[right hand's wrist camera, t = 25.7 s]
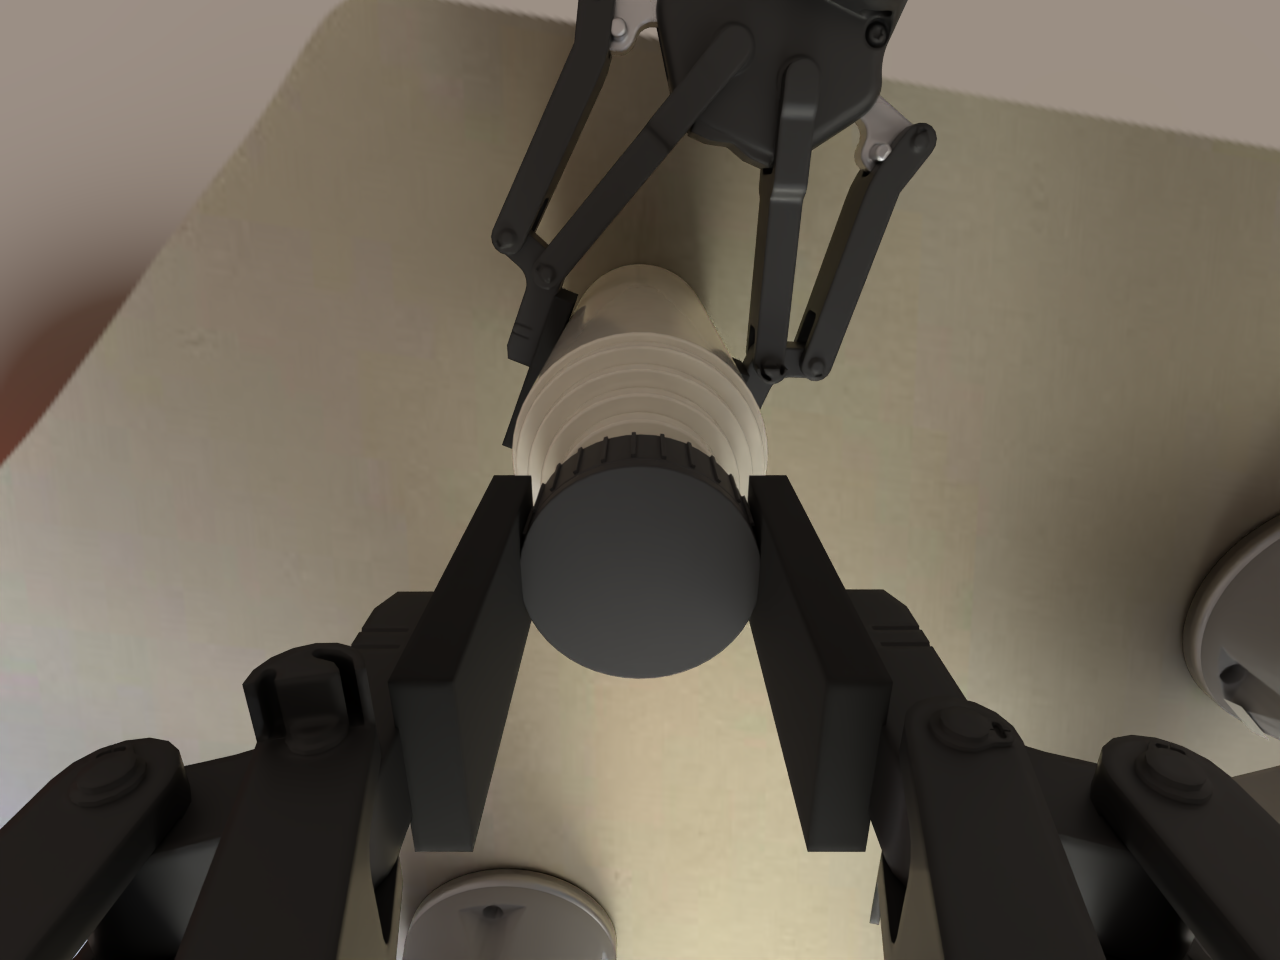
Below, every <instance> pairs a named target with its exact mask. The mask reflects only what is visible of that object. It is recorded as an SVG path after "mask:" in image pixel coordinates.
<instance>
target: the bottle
mask: <svg viewBox="0 0 1280 960" xmlns="http://www.w3.org/2000/svg"><path fill="white" fill-rule="evenodd" d="M632 432H636V435H637V434H644V435H657V436H660V434H664V435H665V437H667V438H672V439H675V440H678V441H681V442H684V443H687V442H690V443H691V444H692V447H695V448H697V449H699V450H700V451H702V452H703V453H705V454H706V455H708V456H709V457H710V456H711V455H713V456H714V457H715V460H716V462H717V463H718V464H719V465H720V466H721V467H722V468H723V469H724V470H725V471H726V473H727V474H728V475H729V474H732V475H733V477H734V480H735V483H736V486H737V488H738V490H739V492H740V494H741V496H744V495H745V498H746V500H747V501H748V485H749V475H766V471H767V462H768V441H767V434H766V429H765V424H764V420H763V417H762V415H761V412H760V409H759V406H758V404H757V402H756V401H755V399H754V397H753V395H752V393H751V391H750V389H749V387H748V386H747V384H746V382H745V380H744V378H743V377H742V375H741V373H740V371H739V370H738V368H737V366H736V364H735V362H734V361H733V359H732V357H731V355H730V353H729V352H728V350H727V348H726V346H725V345H724V343H723V341H722V339H721V337H720V336H719V334H718V332H717V330H716V328H715V327H714V325H713V323H712V321H711V319H710V318H709V316H708V314H707V312H706V311H705V309H704V307H703V305H702V303H701V302H700V300H699V298H698V296H697V295H696V293H695V292H694V291H693V289H692V288H691V287H690V286H689V285H688V284H687V283H686V282H685V281H684V280H683V279H682V278H680V277H679V276H677V275H676V274H674V273H673V272H671V271H669V270H666V269H664V268H661V267H658V266H654V265H647V264H633V265H626V266H622V267H619V268H616V269H614V270H611V271H609V272H608V273H606V274H604V275H602V276H601V277H600V278H599V279H597V280H596V281H595V282H594V283H593V284H592V285H591V286H590V287H589V288H588V289H587V291H586V292H585V293H584V295H583V296H582V298H581V300H580V302H579V304H578V305H577V307H576V309H575V311H574V313H573V314H572V316H571V318H570V320H569V322H568V323H567V325H566V327H565V329H564V331H563V332H562V334H561V336H560V338H559V340H558V341H557V343H556V345H555V347H554V349H553V350H552V352H551V354H550V356H549V358H548V359H547V361H546V363H545V365H544V367H543V368H542V370H541V372H540V374H539V376H538V377H537V379H536V381H535V383H534V385H533V386H532V388H531V390H530V392H529V394H528V395H527V397H526V399H525V401H524V403H523V405H522V407H521V410H520V413H519V415H518V418H517V421H516V426H515V430H514V435H513V446H512V458H513V469H514V474H515V475H531V477H532V494H533V506H534V504H535V501H536V499H537V496H538V493H539V490H540V487H541V485H542V483H544V484H546V483H547V481H548V480H549V478H550V477H551V475H552V474H553V473H554V472H555V470H556V466H557V465H558V464H559V463H561V464H563V463H564V462H565V461H566V460H568V459H569V458H570V457H571V456H573V455H574V454H576V453H577V452H578V448H580V447H582V448H583V449H584V448H586V447H588V446H590V445H592V444H594V443H597V442H600V441H603V439H604V437H607V436H608V439H609V438H613V437H618V436H624V435H632Z"/></svg>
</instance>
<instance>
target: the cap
mask: <svg viewBox="0 0 1280 960" xmlns="http://www.w3.org/2000/svg"><path fill="white" fill-rule="evenodd" d="M753 526H755V524H754V521H753V518H752V515H751V512H750V509H749V506H748V503H747V500H746V498H745V495H744V496H741V494H740V492H739V490H738V488H737V486H736V483H735V480H734V477H733V475H732V474H729V475H728V474H727V473H726V471H725V470H724V469H723V468H722V467H721V466H720V465H719V464H718V463H717V462H716V460H715V457H714V456H713V455H711V456H710V457H709V456H708V455H706V454H705V453H703V452H702V451H700V450H699V449H697V448H695V447H692V444H691V443H690V442H687V443H684V442H681V441H678V440H675V439H672V438H667V437H665V435H664V434H660V436H657V435H644V434H637V435H636V432H632V435H624V436H618V437H613V438H609V439H608V436H607V437H604V439H603V441H600V442H597V443H594V444H592V445H590V446H588V447H586V448H584V449H583V448H582V447H580V448H578V452H577V453H576V454H574V455H573V456H571V457H570V458H569V459H568V460H566V461H565V462H564V463H563V464H561V463H559V464H558V465H557V466H556V470H555V472H554V473H553V474H552V475H551V477H550V478H549V480H548V481H547V483H546V484H544V483H542V485H541V487H540V490H539V493H538V496H537V499H536V501H535V504H534V506H532V507H531V510H530V513H529V516H528V519H527V522H526V525H525V528H524V530H523V533H522V535H523V537H524V541H523V544H522V548H521V552H520V566H521V580H522V594H523V602H524V605H525V607H526V609H527V612H528V614H529V616H530V618H531V620H532V621H533V623H534V624H535V626H536V627H537V629H538V630H539V632H540V633H541V634H542V635H543V636H544V638H545V639H546V640H547V641H548V642H549V643H550V644H551V645H552V646H553V647H555V648H556V649H557V650H558V651H559V652H561V653H562V654H563V655H565V656H566V657H568V658H569V659H571V660H573V661H574V662H576V663H578V664H580V665H582V666H584V667H586V668H589V669H591V670H594V671H596V672H600V673H603V674H607V675H611V676H617V677H622V678H635V679H645V678H658V677H664V676H670V675H674V674H677V673H681V672H684V671H687V670H689V669H692V668H694V667H697V666H699V665H701V664H702V663H704V662H706V661H708V660H710V659H711V658H713V657H714V656H716V655H717V654H719V653H720V652H721V651H723V650H724V649H725V648H726V647H727V646H728V645H729V644H730V643H731V642H733V640H734V639H735V638H736V637H737V636H738V635H739V633H740V632H741V631H742V630H743V628H744V627H745V625H746V624H747V622H748V620H749V619H750V617H751V615H752V613H753V610H754V608H755V606H756V603H757V599H758V587H759V573H760V550H759V546H758V543H757V540H756V536H755V533H754V531H753Z"/></svg>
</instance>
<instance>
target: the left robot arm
mask: <svg viewBox="0 0 1280 960" xmlns="http://www.w3.org/2000/svg"><path fill="white" fill-rule="evenodd" d="M906 3H907V0H578V10H577V21H576V31H575V41H574V45H573V47H572V49H571V51H570V54H569V56H568V58H567V61H566V63H565V65H564V67H563V70H562V72H561V74H560V77H559V79H558V81H557V84H556V86H555V88H554V90H553V93H552V95H551V97H550V100H549V102H548V104H547V106H546V109H545V111H544V113H543V116H542V118H541V120H540V123H539V125H538V127H537V129H536V132H535V134H534V136H533V139H532V141H531V143H530V145H529V148H528V150H527V152H526V155H525V157H524V159H523V161H522V164H521V166H520V168H519V171H518V173H517V175H516V178H515V180H514V182H513V184H512V187H511V189H510V191H509V194H508V196H507V198H506V200H505V203H504V205H503V207H502V210H501V212H500V214H499V217H498V219H497V221H496V223H495V226H494V228H493V231H492V235H491V238H492V243H493V245H494V247H495V249H497V250H498V251H499V252H500V253H503V254H505V255H506V256H508V257H509V258H510V259H511V260H512V261H513V262H514V263H516V264H517V265H518V266H519V267H520V268H521V269H522V271H523V272H524V274H525V277H526V283H527V286H526V290H525V293H524V296H523V299H522V302H521V305H520V308H519V311H518V314H517V317H516V320H515V323H514V326H513V329H512V332H511V335H510V338H509V341H508V344H507V351H508V359H511V360H513V361H516V362H518V363H521V364H523V365H526V366H529V370H528V373H527V376H526V378H525V381H524V384H523V387H522V390H521V393H520V395H519V398H518V401H517V404H516V407H515V410H514V412H513V415H512V418H511V421H510V424H509V427H508V430H507V432H506V435H505V438H504V441H503V444H502V445H503V446H506V447H509V448H512V446H513V435H514V430H515V426H516V421H517V418H518V415H519V413H520V410H521V407H522V405H523V403H524V401H525V399H526V397H527V395H528V394H529V392H530V390H531V388H532V386H533V385H534V383H535V381H536V379H537V377H538V376H539V374H540V372H541V370H542V368H543V367H544V365H545V363H546V361H547V359H548V358H549V356H550V354H551V352H552V350H553V349H554V347H555V345H556V343H557V341H558V340H559V338H560V336H561V334H562V332H563V331H564V329H565V327H566V325H567V323H568V322H569V319H570V316H571V313H572V311H573V308H574V305H575V302H576V300H577V297H578V294H576V293H573V292H571V291H568V290H566V289H564V288H562V285H563V283H564V280H565V277H566V276H567V275H568V274H569V272H570V271H571V270H572V269H573V268H574V266H575V265H576V264H577V263H578V262H579V260H580V259H581V258H582V257H583V256H584V254H585V253H586V252H587V251H588V250H589V248H590V247H591V246H592V245H593V244H594V242H595V241H596V240H597V239H598V238H599V236H600V235H601V234H602V233H603V232H604V230H605V229H606V228H607V227H608V226H609V224H610V223H611V222H612V221H613V220H614V218H615V217H616V216H617V215H618V214H619V212H620V211H621V210H622V209H623V208H624V206H625V205H626V204H627V203H628V202H629V201H630V199H631V198H632V197H633V196H634V195H635V193H636V192H637V191H638V190H639V189H640V187H641V186H642V185H643V184H644V183H645V181H646V180H647V179H648V178H649V177H650V175H651V174H652V173H653V172H654V171H655V169H656V168H657V167H658V166H659V165H660V163H661V162H662V161H663V160H664V159H665V157H666V156H667V155H668V154H669V153H670V151H671V150H672V149H673V148H674V147H675V145H676V144H677V143H678V142H679V141H680V139H681V138H682V137H683V136H684V135H685V134H686V132H687V133H688V136H689V137H691V138H693V139H696V140H698V141H700V142H702V143H705V144H709V145H716V146H724V147H727V148H728V149H730V150H731V151H732V152H733V153H734V154H735V155H737V156H738V157H739V158H740V159H741V160H742V161H744V162H746V163H749V164H751V165H753V166H755V167H757V168H760V169H761V171H760V182H759V195H760V203H759V214H758V225H757V236H756V247H755V258H754V269H753V280H752V291H751V302H750V313H749V324H748V335H747V346H746V357H745V359H744V361H743V363H742V362H741V361H739V360H737V359H735V358H732V359H733V361H734V362H735V364H736V366H737V368H738V370H739V371H740V373H741V375H742V377H743V378H744V380H745V382H746V384H747V386H748V387H749V389H750V391H751V393H752V395H753V397H754V399H755V401H756V402H757V404H758V406H759V409H761V407H762V404H763V402H764V400H765V398H766V396H767V394H768V392H769V390H770V388H771V387H772V385H773V384H775V383H778V382H780V381H782V380H783V379H784V378H787V377H795V378H807V379H809V380H811V381H819V380H822V379H824V378H825V377H826V376H828V374H829V372H830V371H831V368H832V366H833V363H834V361H835V358H836V356H837V353H838V350H839V348H840V345H841V343H842V340H843V337H844V335H845V332H846V330H847V327H848V325H849V322H850V319H851V317H852V314H853V312H854V309H855V307H856V304H857V301H858V299H859V296H860V294H861V291H862V289H863V286H864V283H865V281H866V278H867V276H868V273H869V270H870V268H871V265H872V263H873V260H874V258H875V255H876V252H877V250H878V247H879V245H880V242H881V240H882V237H883V234H884V232H885V229H886V227H887V224H888V221H889V219H890V216H891V214H892V211H893V209H894V206H895V203H896V201H897V198H898V196H899V193H900V192H901V191H902V189H903V188H904V187H905V185H906V184H907V183H908V182H909V180H910V179H911V178H912V177H913V175H914V174H915V173H916V172H917V170H918V169H919V168H920V167H921V165H922V164H923V163H924V162H925V160H926V159H927V158H928V157H929V155H930V154H931V153H932V151H933V149H934V148H935V146H936V140H937V137H936V132H935V130H934V129H933V127H932V126H930V125H928V124H927V123H917V124H912V123H911V122H909V121H908V120H907V119H906V118H905V117H904V116H903V115H902V114H900V113H899V112H898V111H897V110H896V109H895V108H894V107H893V106H892V105H890V104H889V103H888V102H887V101H886V100H885V99H884V98H883V97H881V96H880V91H881V86H882V62H883V56H884V52H885V49H886V46H887V44H888V42H889V39H890V37H891V35H892V33H893V31H894V29H895V26H896V24H897V22H898V20H899V18H900V16H901V13H902V11H903V9H904V7H905V5H906ZM649 27H656V28H657V32H658V37H659V42H660V47H661V52H662V57H663V62H664V66H665V71H666V76H667V81H668V86H669V91H670V96H669V97H668V98H667V99H666V100H665V102H664V103H663V104H662V105H661V107H660V108H659V109H658V110H657V112H656V113H655V114H654V115H653V117H652V118H651V119H650V120H649V122H648V123H647V125H646V126H645V127H644V129H643V130H642V131H641V132H640V134H639V135H638V136H637V137H636V139H635V140H634V141H633V142H632V143H631V145H630V146H629V147H628V148H627V150H626V151H625V152H624V153H623V155H622V156H621V157H620V158H619V159H618V161H617V162H616V163H615V164H614V166H613V167H612V168H611V169H610V171H609V172H608V173H607V174H606V175H605V177H604V178H603V179H602V180H601V182H600V183H599V184H598V185H597V187H596V188H595V189H594V190H593V191H592V193H591V194H590V195H589V196H588V198H587V199H586V200H585V201H584V202H583V204H582V205H581V206H580V207H579V209H578V210H577V211H576V212H575V214H574V215H573V216H572V217H571V218H570V220H569V221H568V222H567V223H566V225H565V226H564V227H563V228H562V230H561V231H560V232H559V233H558V234H557V236H556V237H555V238H554V239H553V241H552V242H551V243H550V244H549V245H548V244H547V243H546V242H545V241H544V240H543V239H542V238H540V237H539V236H538V235H537V234H536V233H535V232H536V230H537V228H538V226H539V223H540V221H541V219H542V217H543V215H544V213H545V210H546V208H547V206H548V204H549V202H550V199H551V197H552V195H553V193H554V191H555V189H556V186H557V184H558V182H559V180H560V178H561V175H562V173H563V171H564V169H565V167H566V165H567V162H568V160H569V158H570V156H571V154H572V151H573V149H574V147H575V145H576V143H577V141H578V138H579V136H580V134H581V132H582V130H583V127H584V125H585V123H586V121H587V119H588V116H589V114H590V112H591V110H592V108H593V106H594V103H595V101H596V99H597V97H598V95H599V92H600V90H601V88H602V86H603V83H604V81H605V78H606V76H607V73H608V70H609V66H610V62H611V58H612V55H615V56H622V55H625V54H627V53H628V52H630V51H631V49H632V48H633V46H634V44H635V41H636V38H637V36H638V35H639V34H640V32H641V31H643V30H644V29H646V28H649ZM854 122H855V123H856V124H857V126H858V128H859V130H860V140H859V143H858V145H857V148H856V150H855V155H854V158H855V162H856V165H857V166H858V167H859V168H860V171H859V172H858V174H857V176H856V177H855V179H854V181H853V183H852V185H851V187H850V189H849V192H848V194H847V197H846V199H845V202H844V205H843V207H842V210H841V213H840V216H839V218H838V221H837V224H836V227H835V230H834V232H833V235H832V238H831V241H830V243H829V246H828V249H827V252H826V254H825V257H824V260H823V263H822V265H821V268H820V271H819V274H818V276H817V279H816V282H815V285H814V287H813V290H812V293H811V296H810V298H809V301H808V304H807V307H806V309H805V312H804V315H803V318H802V321H801V323H800V326H799V329H798V332H797V334H796V337H795V340H794V342H789V341H787V337H788V328H789V319H790V310H791V301H792V292H793V283H794V274H795V265H796V256H797V247H798V238H799V229H800V220H801V212H802V203H803V198H804V196H805V194H806V190H807V184H808V176H809V167H810V158H811V150H813V149H815V148H816V147H818V146H819V145H821V144H822V143H824V142H825V141H827V140H828V139H830V138H831V137H833V136H834V135H836V134H837V133H839V132H841V131H842V130H844V129H845V128H847V127H848V126H850V125H851V124H853V123H854ZM1183 651H1184V657H1185V661H1186V665H1187V667H1188V670H1189V672H1190V674H1191V676H1192V678H1193V679H1194V681H1195V682H1196V683H1197V685H1198V686H1199V687H1200V688H1201V689H1202V690H1203V691H1204V692H1205V693H1206V694H1207V695H1208V696H1209V697H1210V698H1211V699H1212V700H1214V701H1215V702H1216V703H1217V704H1218V705H1219V706H1220V707H1222V708H1223V709H1224V710H1225V711H1227V712H1228V713H1229V714H1231V715H1232V716H1234V717H1236V718H1237V719H1239V720H1241V721H1242V722H1243V723H1244V724H1245V725H1246V726H1247V727H1248V729H1249V730H1250V731H1251V732H1253V733H1255V734H1257V735H1259V736H1261V737H1263V738H1265V739H1267V740H1269V739H1268V738H1267V737H1266V736H1265V734H1268V735H1270V736H1272V737H1274V738H1276V739H1279V740H1280V515H1278V516H1277V517H1275V518H1273V519H1271V520H1269V521H1267V522H1266V523H1264V524H1263V525H1261V526H1260V527H1258V528H1256V529H1255V530H1254V531H1252V532H1251V533H1249V534H1248V535H1247V536H1245V537H1244V538H1243V539H1242V540H1240V541H1239V542H1238V543H1237V544H1236V545H1235V546H1233V547H1232V548H1231V549H1230V550H1229V551H1228V552H1227V553H1226V554H1225V555H1224V556H1223V557H1222V558H1221V559H1220V560H1219V561H1218V563H1217V564H1216V565H1215V566H1214V567H1213V568H1212V570H1211V571H1210V572H1209V574H1208V575H1207V576H1206V578H1205V579H1204V581H1203V582H1202V584H1201V585H1200V587H1199V589H1198V590H1197V592H1196V594H1195V596H1194V598H1193V600H1192V603H1191V605H1190V608H1189V610H1188V613H1187V617H1186V621H1185V625H1184V631H1183ZM1264 733H1265V734H1264ZM1269 741H1270V740H1269ZM1231 778H1232V779H1234V780H1235V781H1236V782H1237V783H1238V784H1239V785H1240V786H1241V787H1242V788H1243V789H1244V790H1245V791H1246V792H1247V793H1248V794H1249V795H1250V796H1251V797H1252V798H1253V799H1254V800H1255V801H1256V802H1257V803H1258V804H1259V805H1260V806H1261V807H1262V808H1263V809H1265V810H1266V811H1267V812H1268V813H1269V814H1270V815H1271V816H1272V817H1273V818H1274V819H1275V820H1276V821H1277V822H1278V823H1279V824H1280V766H1276V767H1272V768H1268V769H1263V770H1259V771H1255V772H1251V773H1247V774H1243V775H1239V776H1235V777H1231ZM1194 939H1195V940H1196V941H1197V943H1198V944H1199V945H1200V947H1201V948H1202V949H1203V951H1204V952H1205V953H1206V954H1207V955H1208V956H1209V957H1210V955H1209V954H1208V953H1207V951H1206V950H1205V949H1204V947H1203V946H1202V945H1201V943H1200V942H1199V941H1198V940H1197V938H1196V937H1194ZM1210 958H1211V957H1210ZM1211 959H1212V958H1211ZM1212 960H1213V959H1212Z"/></svg>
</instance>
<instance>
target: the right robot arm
mask: <svg viewBox="0 0 1280 960" xmlns="http://www.w3.org/2000/svg"><path fill="white" fill-rule="evenodd" d="M747 503H748V506H749V509H750V512H751V515H752V518H753V521H754V524H755V526H753V531H754V533H755V536H756V540H757V543H758V546H759V550H760V573H759V587H758V599H757V603H756V606H755V608H754V610H753V613H752V615H751V617H750V619H749V622H750V626H751V630H752V634H753V638H754V642H755V646H756V650H757V654H758V657H759V661H760V665H761V669H762V673H763V677H764V681H765V685H766V689H767V693H768V697H769V701H770V705H771V709H772V713H773V717H774V721H775V724H776V728H777V732H778V736H779V740H780V744H781V748H782V752H783V756H784V760H785V764H786V768H787V772H788V776H789V780H790V784H791V787H792V791H793V795H794V799H795V803H796V807H797V811H798V815H799V819H800V823H801V827H802V831H803V835H804V839H805V843H806V847H807V851H808V852H865V851H866V845H867V838H868V832H869V826H870V820H871V822H872V825H873V827H874V830H875V833H876V836H877V838H878V841H879V844H880V847H881V849H882V853H881V859H880V865H879V870H878V876H877V882H876V887H875V893H874V899H873V905H872V911H871V917H870V923H872V924H877V925H879V921H880V918H881V929H882V940H883V951H884V960H1212V959H1213V960H1280V824H1279V823H1278V822H1277V821H1276V820H1275V819H1274V818H1273V817H1272V816H1271V815H1270V814H1269V813H1268V812H1267V811H1266V810H1265V809H1263V808H1262V807H1261V806H1260V805H1259V804H1258V803H1257V802H1256V801H1255V800H1254V799H1253V798H1252V797H1251V796H1250V795H1249V794H1248V793H1247V792H1246V791H1245V790H1244V789H1243V788H1242V787H1241V786H1240V785H1239V784H1238V783H1237V782H1236V781H1235V780H1234V779H1232V778H1231V777H1230V776H1229V775H1228V774H1226V773H1225V772H1224V771H1223V770H1221V769H1220V768H1219V767H1217V766H1216V765H1215V764H1214V763H1212V762H1211V761H1210V760H1208V759H1206V758H1204V757H1202V756H1200V755H1198V754H1196V753H1195V752H1193V751H1191V750H1189V749H1187V748H1185V747H1183V746H1180V745H1177V744H1174V743H1172V742H1168V741H1164V740H1161V739H1158V738H1154V737H1145V736H1137V735H1128V736H1122V737H1117V738H1113V739H1111V740H1110V741H1109V742H1108V743H1107V744H1106V745H1104V746H1103V747H1102V750H1101V754H1100V757H1099V760H1098V763H1092V762H1088V761H1083V760H1079V759H1074V758H1070V757H1066V756H1061V755H1057V754H1052V753H1048V752H1044V751H1041V750H1037V749H1034V748H1030V747H1027V746H1025V745H1024V742H1023V740H1022V739H1021V737H1020V736H1019V734H1018V733H1017V731H1016V730H1015V728H1014V727H1013V726H1012V725H1011V724H1010V723H1009V722H1007V721H1006V720H1005V719H1004V718H1002V717H1001V716H1000V715H999V714H997V713H996V712H994V711H992V710H990V709H988V708H986V707H984V706H981V705H979V704H977V703H975V702H971V701H967V700H966V698H965V697H964V695H963V693H962V692H961V690H960V689H959V687H958V686H957V684H956V683H955V681H954V679H953V678H952V676H951V675H950V673H949V672H948V670H947V669H946V667H945V665H944V664H943V662H942V661H941V659H940V658H939V656H938V655H937V653H936V651H935V650H934V648H933V647H932V646H930V644H929V643H930V642H929V641H928V639H927V637H926V636H925V634H924V633H923V631H922V630H919V625H918V623H917V622H916V620H915V619H914V617H913V616H912V614H911V613H910V611H909V609H908V608H907V606H905V605H904V604H903V603H901V602H900V601H898V600H897V599H896V598H894V597H893V596H891V595H890V594H889V593H887V592H886V591H885V590H845V588H844V586H843V584H842V582H841V580H840V578H839V576H838V574H837V572H836V570H835V568H834V567H833V565H832V563H831V561H830V559H829V557H828V555H827V553H826V551H825V549H824V547H823V545H822V543H821V541H820V539H819V537H818V536H817V534H816V532H815V530H814V528H813V526H812V524H811V522H810V520H809V518H808V516H807V514H806V512H805V510H804V508H803V506H802V505H801V503H800V501H799V499H798V497H797V495H796V493H795V491H794V489H793V487H792V485H791V483H790V481H789V479H788V477H787V476H786V475H749V485H748V501H747ZM532 506H533V494H532V477H531V475H494V476H493V478H492V480H491V482H490V484H489V486H488V488H487V490H486V492H485V494H484V496H483V498H482V500H481V502H480V504H479V505H478V507H477V509H476V511H475V513H474V515H473V517H472V519H471V521H470V523H469V525H468V527H467V529H466V531H465V533H464V535H463V536H462V538H461V540H460V542H459V544H458V546H457V548H456V550H455V552H454V554H453V556H452V558H451V560H450V562H449V564H448V566H447V567H446V569H445V571H444V573H443V575H442V577H441V579H440V581H439V583H438V585H437V587H436V589H435V591H434V592H396V593H395V594H394V595H392V596H391V597H390V598H388V599H387V600H385V601H384V602H383V603H381V604H380V605H379V606H377V607H376V608H374V610H373V611H372V613H371V615H370V616H369V618H368V619H367V621H366V622H365V624H364V626H363V627H362V632H359V633H358V635H357V637H356V638H355V640H354V641H353V643H352V644H351V646H348V645H344V644H340V643H314V644H310V645H305V646H301V647H296V648H292V649H290V650H288V651H285V652H283V653H281V654H278V655H276V656H274V657H271V658H270V659H268V660H267V661H265V662H264V663H263V664H261V665H260V666H258V667H257V668H256V669H254V670H253V671H252V672H251V674H250V675H249V676H248V678H247V679H246V680H245V681H244V683H243V684H242V685H243V689H244V693H245V697H246V701H247V705H248V708H249V712H250V716H251V720H252V724H253V728H254V732H255V736H256V740H257V744H256V746H255V749H253V750H250V751H246V752H243V753H240V754H236V755H232V756H228V757H223V758H219V759H215V760H210V761H206V762H201V763H197V764H192V765H188V766H184V765H183V761H182V758H181V755H180V752H179V750H178V749H177V748H176V747H175V746H174V745H172V744H171V743H170V742H169V741H165V740H160V739H154V738H144V739H135V740H126V741H123V742H120V743H117V744H114V745H110V746H107V747H104V748H101V749H99V750H97V751H95V752H93V753H91V754H89V755H87V756H85V757H83V758H81V759H79V760H77V761H75V762H74V763H72V764H71V765H70V766H68V767H67V768H66V769H64V770H63V771H62V772H61V773H59V774H58V775H57V776H55V777H54V778H53V779H52V780H50V781H49V782H48V783H47V784H46V785H45V786H44V787H43V788H42V789H41V790H40V791H39V792H38V793H37V794H36V795H35V796H34V797H33V798H32V799H31V800H30V801H29V802H28V803H27V804H26V805H25V806H24V807H23V808H22V809H21V810H20V811H19V812H18V813H17V814H16V815H15V816H14V817H12V818H11V819H10V820H9V821H8V822H7V823H6V824H5V825H4V826H3V827H2V828H1V829H0V960H396V953H397V942H398V931H399V920H400V909H401V898H402V887H403V877H402V871H401V865H400V859H399V851H400V849H401V846H402V843H403V840H404V838H405V835H406V832H407V829H408V827H409V824H410V823H411V829H412V836H413V842H414V848H415V852H473V848H474V844H475V840H476V837H477V833H478V829H479V825H480V821H481V817H482V813H483V809H484V805H485V801H486V797H487V793H488V789H489V785H490V781H491V777H492V773H493V770H494V766H495V762H496V758H497V754H498V750H499V746H500V742H501V738H502V734H503V730H504V726H505V722H506V718H507V714H508V710H509V707H510V703H511V699H512V695H513V691H514V687H515V683H516V679H517V675H518V671H519V667H520V663H521V659H522V655H523V651H524V647H525V643H526V640H527V636H528V632H529V628H530V624H531V618H530V616H529V614H528V612H527V609H526V607H525V605H524V602H523V594H522V580H521V566H520V552H521V548H522V544H523V541H524V537H523V535H522V533H523V530H524V528H525V525H526V522H527V519H528V516H529V513H530V510H531V507H532ZM1194 937H1196V938H1197V940H1198V941H1199V942H1200V943H1201V945H1202V946H1203V947H1204V949H1205V950H1206V951H1207V953H1208V954H1209V955H1210V957H1211V958H1212V959H1211V958H1210V957H1209V956H1208V955H1207V954H1206V953H1205V952H1204V951H1203V949H1202V948H1201V947H1200V945H1199V944H1198V943H1197V941H1196V940H1195V939H1194ZM86 940H88V941H87V942H86V943H85V941H86ZM84 943H85V945H84V946H83V947H82V945H83V944H84ZM81 947H82V949H81V950H80V951H79V949H80V948H81ZM78 951H79V953H78V954H77V955H76V953H77V952H78ZM616 953H617V941H616V934H615V930H614V927H613V924H612V922H611V920H610V918H609V917H608V915H607V914H606V912H605V911H604V909H603V908H602V907H601V906H600V905H599V904H598V903H597V902H596V901H595V900H594V899H593V898H592V897H591V896H589V895H588V894H587V893H585V892H584V891H582V890H581V889H579V888H578V887H576V886H574V885H572V884H570V883H568V882H566V881H564V880H561V879H559V878H556V877H553V876H550V875H546V874H543V873H538V872H533V871H527V870H518V869H495V870H486V871H480V872H475V873H471V874H467V875H464V876H461V877H458V878H456V879H453V880H451V881H449V882H447V883H445V884H443V885H441V886H440V887H438V888H437V889H436V890H434V891H433V892H432V893H430V894H429V895H428V896H427V897H426V898H425V899H424V900H423V901H422V903H421V904H420V905H419V907H418V908H417V910H416V912H415V914H414V916H413V918H412V921H411V924H410V927H409V931H408V934H407V937H406V941H405V946H404V953H403V960H616ZM75 955H76V956H75ZM74 956H75V957H74ZM73 957H74V958H73ZM72 958H73V959H72Z"/></svg>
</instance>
